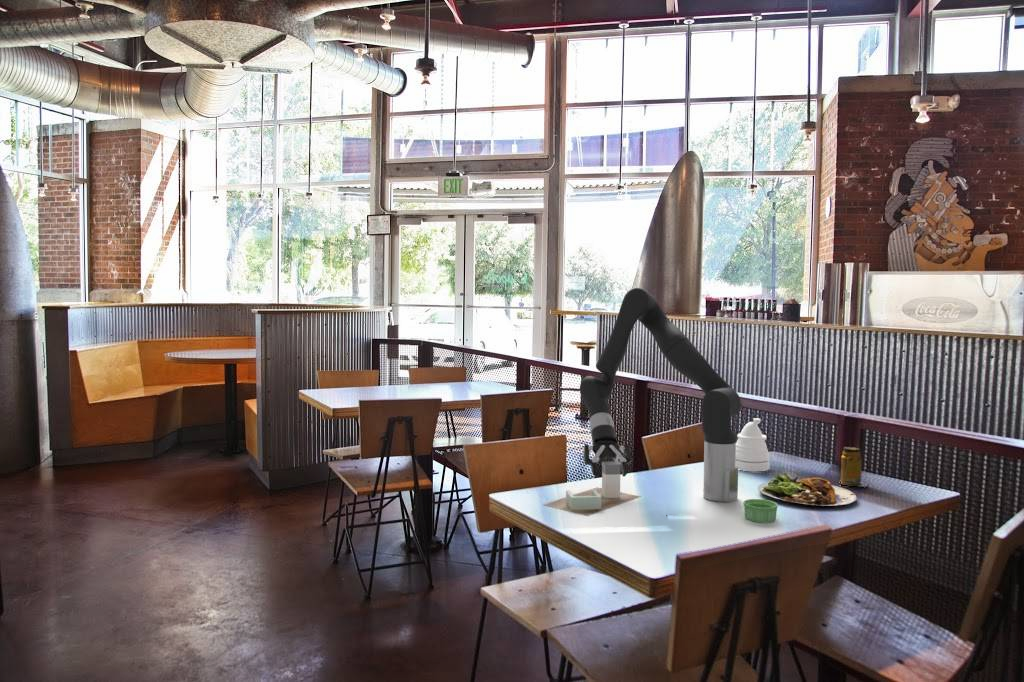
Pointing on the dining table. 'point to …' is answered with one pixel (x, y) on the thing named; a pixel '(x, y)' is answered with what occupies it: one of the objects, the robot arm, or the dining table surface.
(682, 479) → the dining table surface
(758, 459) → the honey pot
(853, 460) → the condiment
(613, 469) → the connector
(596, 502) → the end holder
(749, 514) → the ramekin
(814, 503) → the plate of food
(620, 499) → the board
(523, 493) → the dining table surface
